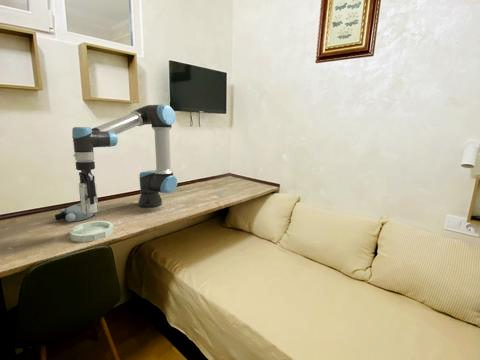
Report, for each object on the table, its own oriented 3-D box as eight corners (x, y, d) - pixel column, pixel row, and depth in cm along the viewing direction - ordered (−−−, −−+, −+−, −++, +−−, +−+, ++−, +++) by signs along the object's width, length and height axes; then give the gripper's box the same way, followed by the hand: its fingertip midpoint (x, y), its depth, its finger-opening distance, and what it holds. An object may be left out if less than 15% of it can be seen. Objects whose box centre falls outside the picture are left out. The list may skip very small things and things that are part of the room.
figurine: (91, 209, 156) (53, 221, 142) (88, 197, 153) (49, 207, 139) (102, 216, 145) (62, 230, 131) (99, 203, 142) (58, 215, 128)
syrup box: (94, 209, 125) (91, 181, 122) (99, 212, 121) (96, 183, 119) (81, 212, 121) (78, 183, 118) (86, 215, 117) (82, 185, 114)
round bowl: (105, 223, 136) (104, 218, 136) (119, 233, 124) (119, 227, 124) (65, 233, 123) (65, 227, 122) (77, 245, 111) (76, 239, 110)
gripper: (69, 159, 119) (74, 205, 124) (82, 164, 107) (87, 215, 112) (87, 158, 125) (91, 202, 130) (101, 162, 113) (105, 211, 117)
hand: (89, 208), depth 121 cm, fingers closed on syrup box, 6 cm apart
